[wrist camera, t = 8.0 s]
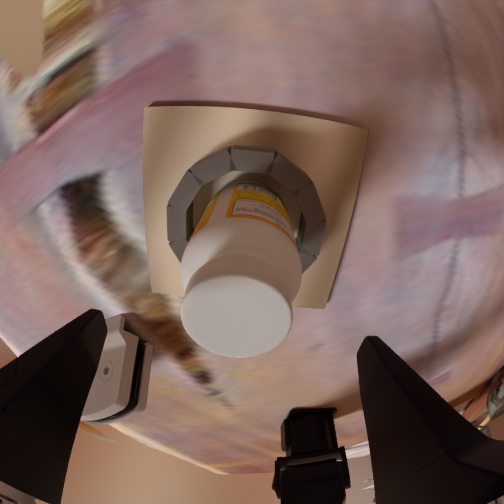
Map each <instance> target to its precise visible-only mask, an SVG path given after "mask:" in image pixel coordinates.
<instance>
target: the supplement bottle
mask: <svg viewBox="0 0 504 504" xmlns="http://www.w3.org/2000/svg"><path fill="white" fill-rule="evenodd" d="M180 273H181V281H182V285H183V288H184V291H185V295H184V298H183V301H182V305H181V312H180V313H181V319H182V323H183V326H184V328H185V330H186V331H187V333H188V334H189V336H190V337H191V338H192V339H193V340H194V341H195V342H196V343H197V344H199V345H200V346H202V347H203V348H205V349H207V350H209V351H210V352H213V353H215V354H218V355H222V356H227V357H234V358H246V357H253V356H258V355H261V354H264V353H266V352H268V351H271V350H272V349H274V348H275V347H277V346H278V345H279V344H280V343H281V342H282V341H283V340H284V339H285V338H286V337H287V335H288V333H289V331H290V329H291V326H292V320H293V312H292V304H291V303H292V302H293V301H294V299H295V297H296V296H297V294H298V291H299V289H300V285H301V280H302V265H301V260H300V255H299V252H298V248H297V244H296V241H295V237H294V233H293V230H292V226H291V223H290V219H289V215H288V212H287V209H286V206H285V204H284V202H283V200H282V199H281V198H280V196H279V195H278V194H277V193H276V192H275V191H273V190H272V189H271V188H269V187H268V186H266V185H263V184H261V183H258V182H253V181H240V182H235V183H232V184H229V185H227V186H225V187H224V188H222V189H221V190H219V191H218V192H217V193H216V194H215V195H214V196H213V198H212V199H211V201H210V202H209V204H208V206H207V208H206V210H205V212H204V214H203V216H202V217H201V219H200V221H199V223H198V225H197V227H196V229H195V231H194V233H193V234H192V236H191V238H190V240H189V242H188V244H187V246H186V249H185V251H184V254H183V257H182V261H181V268H180Z"/></svg>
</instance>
